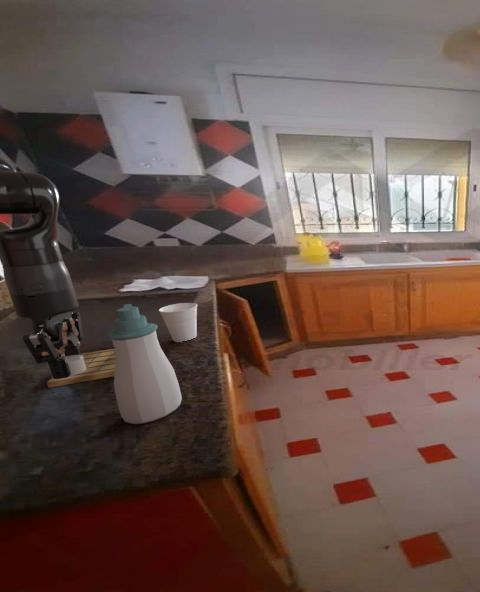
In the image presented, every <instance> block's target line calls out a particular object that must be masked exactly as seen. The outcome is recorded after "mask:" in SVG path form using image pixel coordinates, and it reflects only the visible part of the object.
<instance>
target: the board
mask: <svg viewBox="0 0 480 592" xmlns="http://www.w3.org/2000/svg"><path fill="white" fill-rule="evenodd" d="M81 355H82V356H83V358H84V361H85V364H86V368H87V369H86V370H85V371H84V372H82V373H80V374H77V375H74V376H71V377H67V378H62V379H54V378H53V377H52V376H51V378H50V379H49V380H48V381H47V382H46V385H47V387H48V388H49V389H50V388H56V387H62V386H68V385H72V384H79V383H83V382H90V381H95V380H101V379H107V378H114V375H115V360H116V356H115V350H114V348H111V349H104V350H96V351H90V352H84V353H81Z"/></svg>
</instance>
